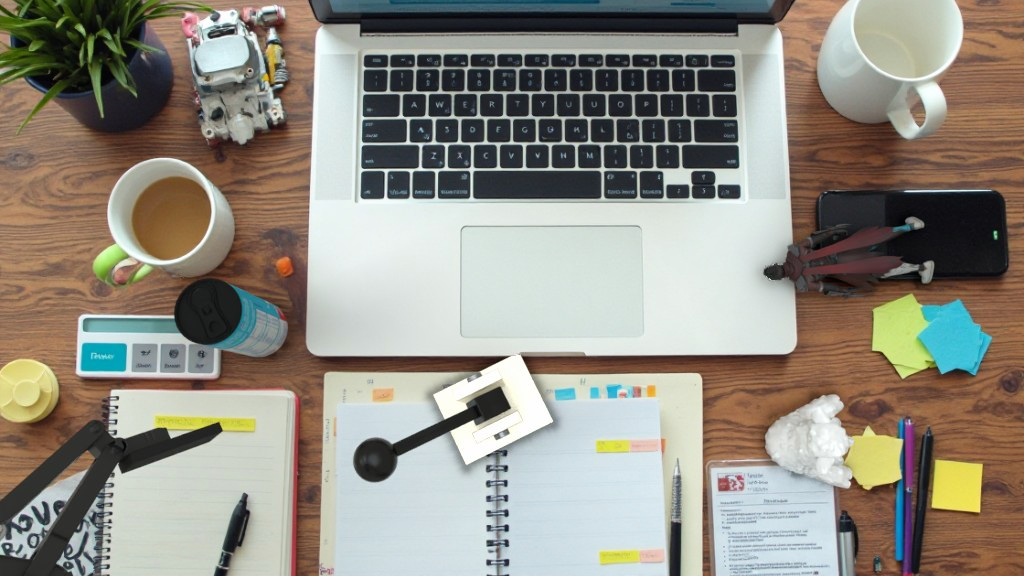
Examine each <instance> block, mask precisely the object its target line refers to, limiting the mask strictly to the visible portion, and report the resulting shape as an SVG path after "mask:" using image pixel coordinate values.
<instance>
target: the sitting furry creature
mask: <svg viewBox="0 0 1024 576" xmlns="http://www.w3.org/2000/svg"><path fill="white" fill-rule="evenodd" d="M840 399H841V398H840V396H839V395H837V394H835V393H834V394H833V393H832V394H828V395H825V394H823V395H821V396H820V397H818V398H814V399H812V400H811V401H810V402H809V403H805V405H803V406H800V407H799V408H796V409H795V410H794V411H791V412H789V413H788V414H786V415H785V416H784V415H783V416H779V419H776V420H775V422H773V423H772V424H771V425H770V426H769V427H768V429H767V431H766V433H765V435H764V440H765V445H764V449H765V450H766V452H765V453H766V454H767V455H769V457H770V459H771V461H772V462H774V463H777V465H778V467H779V468H782V469H783V470H786V471H789V472H793V473H794V474H797V475H798V474H799V475H805V476H806V477H807V478H810V479H815V480H816V479H817V480H818V481H819V482H823V483H826V484H827V485H829V486H834V487H838V488H841V489H846V490H848V489H849V488H851V485H852V482H851V481H850V480H852V478H853V470H852V468H850V467H849V466H847V465H844V464H845V459H844V456H845V455H846V454H848V452H849V449H850V448H851V447H852V446H853V445H854V444H855V439H854V438H853V437H852V436H850V435H848V434H847V432H846V428H844V427H842V421H841V419H840V418H839V417H836V415H838V413H840V412H842V410H843V409H844V407H845V405H844V402H842V401H841V400H840Z"/></svg>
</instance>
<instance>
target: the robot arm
mask: <svg viewBox="0 0 1024 576" xmlns="http://www.w3.org/2000/svg"><path fill="white" fill-rule="evenodd" d="M222 432H224V430H223V427H222V425H221V422H220V421H217V422H214V423H211V424H209V425H205V426H202V427H200V428H196V429H194V430H191V431H188V432H185V433H183V434H179V435H176V436H174V437H172V438H171V435H170V433H169V431H168V428H167V427H155V428H152V429H150V430H145V431H143V432H141V433H137V434H134V435H131V436H129V437H126V438H123V437H115V436H114V437H113V436H112V435H111V434H110V432H109V431H107V429H106V425H105V423H104V422H103V421H102V420H100V419H91V420H89V421H88V422H86V424H84V425H83V426H82V427H81V428H80V429H78V431H76V433H74V434H73V435H72V436H71V437H70V438H69V439H68V440H67V441H65V442H64V443H63V444H62V445H61V446H60V447H59V448H57V449H56V450H55V451H54V452H53V453H52V454H50V455H49V456H48V457H47V458H46V459H45V460H44V461H43V462H42V463H41V464H39V465H38V466H37V467H36V468H35V469H34V470H33V471H32V472H30V474H28V475H27V476H26V477H24V479H23V480H22V481H20V483H18V484H17V485H16V486H15V487H14V488H12V490H11V491H10V492H8V493H7V494H6V495H4V497H2V499H0V542H1V541H3V539H4V538H5V537H6V535H7V532H8V528H7V524H9V523H10V522H11V521H12V520H14V519H15V518H16V517H17V516H18V515H19V514H21V512H22V511H23V510H25V508H27V507H28V506H29V505H30V504H31V503H32V502H33V501H34V500H35V499H36V498H37V497H38V496H39V495H40V494H42V493H43V492H44V491H45V490H46V489H47V488H48V487H50V485H51V484H52V483H53V482H55V481H56V480H57V479H59V477H60V476H62V474H63V473H64V472H66V471H67V470H68V469H69V468H70V467H71V466H72V465H73V464H74V463H75V462H76V461H77V460H78V459H80V458H81V456H83V455H84V454H85V453H86V452H88V453H89V454H90V455H91V456H92V457H93V458H94V459H93V461H92V463H91V464H90V466H89V467H88V469H87V470H86V472H85V474H84V475H83V476H82V478H81V479H80V481H79V483H78V484H77V485H76V487H75V489H74V490H73V491H72V493H71V495H70V496H69V498H68V500H67V501H66V502H65V504H64V505H63V507H62V509H61V510H60V512H59V513H58V515H57V516H56V518H55V519H54V521H53V522H52V524H51V525H50V527H49V528H48V530H47V532H46V533H45V535H44V537H43V538H42V539H41V541H40V542H39V544H38V545H37V546H36V548H35V549H34V551H33V552H32V554H31V555H30V557H29V558H26V557H19V556H14V555H13V556H12V555H8V554H0V576H74V574H73V571H72V570H68V569H67V568H66V567H64V566H62V565H61V564H59V563H58V562H59V560H60V558H61V556H62V555H63V554H64V553H65V550H66V549H67V547H68V546H69V544H70V542H71V540H72V538H73V536H74V535H75V533H76V531H77V530H78V528H79V526H80V525H81V523H82V521H83V520H84V518H85V517H86V516H87V514H88V512H89V511H90V509H91V507H92V505H93V504H94V502H95V501H96V499H97V498H98V497H99V494H100V493H101V491H102V490H103V488H104V487H105V485H106V483H107V481H108V480H109V478H110V477H111V475H112V473H113V472H114V471H115V469H116V467H117V466H118V468H119V471H120V473H121V475H123V474H126V473H129V472H131V471H134V470H137V469H139V468H142V467H146V466H148V465H151V464H154V463H156V462H158V461H161V460H164V459H167V458H170V457H172V456H175V455H178V454H181V453H185V452H187V451H189V450H193V449H194V448H198V447H201V446H203V445H206V444H208V443H211V442H212V441H213V440H214V439H215V438H217V437H218V436H219V435H220V434H222Z"/></svg>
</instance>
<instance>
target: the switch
mask: <svg viewBox="0 0 1024 576" xmlns="http://www.w3.org/2000/svg"><path fill="white" fill-rule="evenodd" d="M466 406H467V408H468V409H466V410H464V411H462V412H459V413H457V414H455V415H453V416H451V417H449V418H447V419H443V420H441V421H437V422H436V423H434V424H432V425H430V426H427V427H426V428H423V429H421V430H419V431H417V432H415V433H413V434H411V435H408V436H407V437H404V438H402V439H400V440H398V441H396V442H394V443H391V441H390V440H387V439H386V438H383V437H369V438H366V439H365V440H363V441H361V442H360V444H358V446H357V447H356V448H355V450H354V452H353V457H352V465H353V469H354V471H355V473H356V474H357V475H358V477H359V478H360V479H362V480H363V481H365V482H368V483H373V484H377V483H382V482H385V481H386V480H387V479H389V478H390V477H391V476H393V474H394V473H395V471H396V470H397V467H398V463H399V457H400V456H403V455H405V454H406V453H409V452H411V451H413V450H415V449H417V448H419V447H421V446H424V445H425V444H427V443H429V442H432V441H434V440H436V439H438V438H440V437H442V436H445V435H447V434H448V433H451V432H450V431H452V430H455V429H457V428H459V427H461V426H463V425H465V424H467V423H469V422H471V421H474V423H475V425H476V426H478V425H480V424H482V423H484V422H486V421H488V420H490V419H492V418H494V417H496V416H498V415H500V414H502V413H504V412H506V411H508V410H510V409H511V407H510V405H509V403H508V401H507V398H506V396H505V394H504V392H503V390H502V388H501V386H499V387H497V388H495V389H492V390H490V391H488V392H486V393H484V394H482V395H480V396H477V397H475V398H474V399H472V400H470V401H469V402H467V403H466Z"/></svg>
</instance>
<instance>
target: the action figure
mask: <svg viewBox="0 0 1024 576" xmlns="http://www.w3.org/2000/svg"><path fill="white" fill-rule="evenodd" d="M904 222H905V224H904V225H901V226H895V227H894V226H893V227H891V226H884V227H880V226H879V225H878V226H875V225H874V226H866V227H862V228H861V229H859V230H858V231H856V232H855V233H852V234H851V236H849V233H848V230H846V229H845V228H848V226H851V224H850V223H840V224H836V225H835V226H832V225H825V228H826V229H825V230H824V229H823V230H816V231H812V232H810V233H809V236H807V237H804V238H802V239H801V240H799V241H796V242H795V243H791V244H789V245H787V252H786V257H785V260H784V261H783V262H782V264H779V263H778V262H774V263H771V264H770V265H768V266H767V265H765V267H764V268H763V273H762V274H763V275H764V276H765V277H766V276H767V277H768V278H770V279H771V280H775V281H782V280H784V279H787V278H788V280H789V281H791V282H792V283H794V284H795V286H796V289H797V292H798V293H799V292H800V293H804V292H816V293H822V292H823V295H824V296H825V297H834V296H835V297H836V296H840V298H843V299H842V301H845V300H847V299H850V298H860V297H861V298H862V297H864V296H867V295H868V293H862V294H861V293H860V294H859V292H862V290H867V291H871V292H872V291H879V289H877V288H875V286H873V285H872V284H870V283H869V282H872V283H876V284H880V281H879V279H886V278H890V277H891V276H899V275H903V274H909V273H915V272H917V273H918V274H919V276H921V283H922V284H929V283H930V282H931V281H932V279H933V275H934V269H935V262H934V260H927V261H925V262H923V263H917V264H916V263H915V264H913V263H907V262H905V261H903V260H901V259H902V258H903V257H905V256H893V255H886V253H884V252H883V251H880V250H877V251H876V250H875V249H877V248H878V247H880V246H881V245H883V244H885V243H887V242H889V241H891V240H894V239H896V238H898V237H900V236H901V235H903V234H904V233H907V232H910V231H913V230H919V229H923V228H924V227H925V223H924V221H923V220H921V219H919V218H918V217H915V216H909V217H906V219H905V220H904ZM879 227H880V228H879ZM844 235H845V236H844ZM832 236H839V237H847V238H844V239H842V240H839V241H836V242H834V243H833V244H831V245H828V246H825V247H822V248H819V249H815V250H814V249H813V248H814V246H816V245H819V244H821V243H822V242H824V241H826V240H827V239H828V238H830V237H832ZM848 236H849V237H848ZM873 250H875V251H873ZM773 264H774V265H773ZM778 264H779V265H778ZM783 278H784V279H783ZM824 278H833V279H837V280H840V281H843V282H845V283H848V284H849V285H852V287H843V286H840V285H838V284H834V283H832V282H823V281H822V280H823V279H824ZM878 278H879V279H878ZM857 293H858V294H857Z"/></svg>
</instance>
